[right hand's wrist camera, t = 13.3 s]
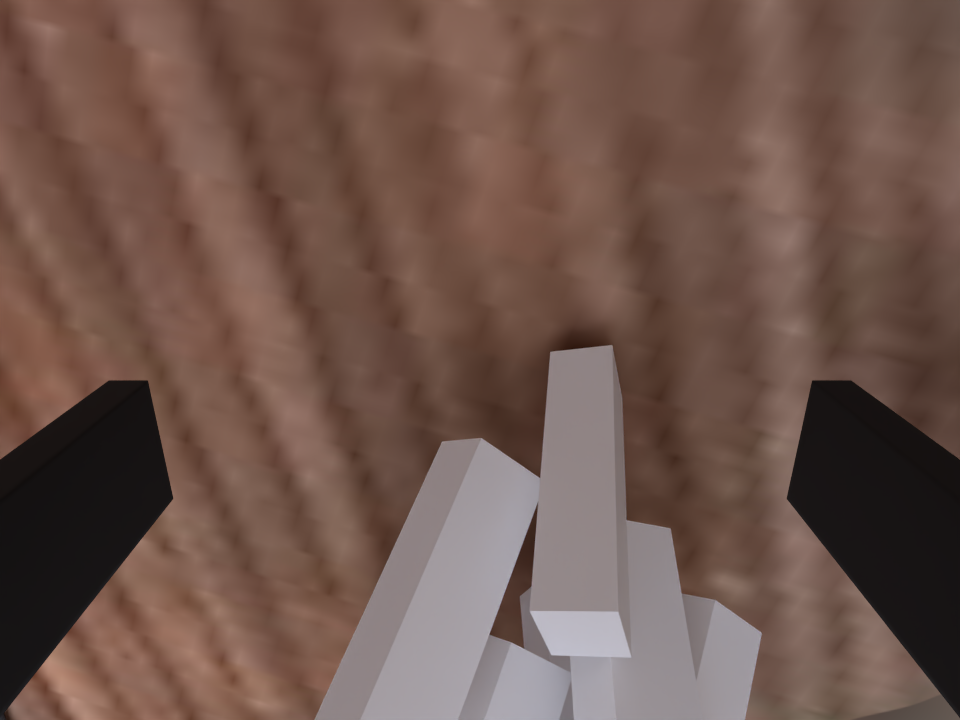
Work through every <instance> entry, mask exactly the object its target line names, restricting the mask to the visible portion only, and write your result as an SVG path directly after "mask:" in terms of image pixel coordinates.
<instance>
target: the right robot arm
mask: <svg viewBox="0 0 960 720" xmlns="http://www.w3.org/2000/svg"><path fill="white" fill-rule="evenodd" d="M172 500H173V495H172V491H171V486H170V481H169V477H168V472H167V467H166V463H165V458H164V454H163V449H162V444H161V440H160V435H159V430H158V426H157V421H156V417H155V412H154V407H153V403H152V398H151V393H150V389H149V384H148V381H108V382H106V383H105V384H104V385H102V386H101V387H99V388H98V389H97V390H95V391H94V392H93V393H91V394H90V395H88V396H87V397H86V398H84V399H83V400H82V401H80V402H79V403H77V404H76V405H75V406H73V407H72V408H71V409H69V410H68V411H66V412H65V413H64V414H62V415H61V416H60V417H58V418H57V419H55V420H54V421H53V422H51V423H50V424H49V425H47V426H46V427H44V428H43V429H42V430H40V431H39V432H38V433H36V434H35V435H33V436H32V437H31V438H29V439H28V440H27V441H25V442H24V443H23V444H21V445H20V446H18V447H17V448H16V449H14V450H13V451H12V452H10V453H9V454H7V455H6V456H5V457H3V458H2V459H1V460H0V720H6V718H5V715H4V712H5V711H6V710H7V708H8V707H9V706H10V705H11V703H12V702H13V701H14V700H15V698H16V697H17V696H18V694H19V693H20V692H21V691H22V689H23V688H24V687H25V686H26V684H27V683H28V682H29V681H30V679H31V678H32V677H33V675H34V674H35V673H36V672H37V670H38V669H39V668H40V667H41V665H42V664H43V663H44V662H45V660H46V659H47V658H48V656H49V655H50V654H51V653H52V651H53V650H54V649H55V648H56V646H57V645H58V644H59V643H60V641H61V640H62V639H63V638H64V636H65V635H66V634H67V632H68V631H69V630H70V629H71V627H72V626H73V625H74V624H75V622H76V621H77V620H78V619H79V617H80V616H81V615H82V613H83V612H84V611H85V610H86V608H87V607H88V606H89V605H90V603H91V602H92V601H93V600H94V598H95V597H96V596H97V594H98V593H99V592H100V591H101V589H102V588H103V587H104V586H105V584H106V583H107V582H108V581H109V579H110V578H111V577H112V576H113V574H114V573H115V572H116V570H117V569H118V568H119V567H120V565H121V564H122V563H123V562H124V560H125V559H126V558H127V557H128V555H129V554H130V553H131V551H132V550H133V549H134V548H135V546H136V545H137V544H138V543H139V541H140V540H141V539H142V538H143V536H144V535H145V534H146V532H147V531H148V530H149V529H150V527H151V526H152V525H153V524H154V522H155V521H156V520H157V519H158V517H159V516H160V515H161V514H162V512H163V511H164V510H165V508H166V507H167V506H168V505H169V503H170V502H171V501H172ZM787 500H788V501H789V502H790V503H791V505H792V506H793V507H794V508H795V510H796V511H797V512H798V514H799V515H800V516H801V517H802V519H803V520H804V521H805V522H806V524H807V525H808V526H809V527H810V529H811V530H812V531H813V532H814V534H815V535H816V536H817V538H818V539H819V540H820V541H821V543H822V544H823V545H824V546H825V548H826V549H827V550H828V551H829V553H830V554H831V555H832V557H833V558H834V559H835V560H836V562H837V563H838V564H839V565H840V567H841V568H842V569H843V570H844V572H845V573H846V574H847V576H848V577H849V578H850V579H851V581H852V582H853V583H854V584H855V586H856V587H857V588H858V589H859V591H860V592H861V593H862V594H863V596H864V597H865V598H866V600H867V601H868V602H869V603H870V605H871V606H872V607H873V608H874V610H875V611H876V612H877V613H878V615H879V616H880V617H881V619H882V620H883V621H884V622H885V624H886V625H887V626H888V627H889V629H890V630H891V631H892V632H893V634H894V635H895V636H896V638H897V639H898V640H899V641H900V643H901V644H902V645H903V646H904V648H905V649H906V650H907V651H908V653H909V654H910V655H911V656H912V658H913V659H914V660H915V662H916V663H917V664H918V665H919V667H920V668H921V669H922V670H923V672H924V673H925V674H926V675H927V677H928V678H929V679H930V681H931V682H932V683H933V684H934V686H935V687H936V688H937V689H938V691H939V692H940V693H941V694H942V696H943V697H944V698H945V699H946V701H947V702H948V703H949V705H950V706H951V707H952V708H953V710H954V711H955V712H956V713H957V715H958V716H959V717H960V460H959V459H958V458H957V457H955V456H954V455H953V454H951V453H950V452H948V451H947V450H946V449H944V448H943V447H942V446H940V445H939V444H937V443H936V442H935V441H933V440H932V439H931V438H929V437H928V436H927V435H925V434H924V433H922V432H921V431H920V430H918V429H917V428H916V427H914V426H913V425H911V424H910V423H909V422H907V421H906V420H905V419H903V418H902V417H900V416H899V415H898V414H896V413H895V412H894V411H892V410H891V409H889V408H888V407H887V406H885V405H884V404H883V403H881V402H880V401H878V400H877V399H876V398H874V397H873V396H872V395H870V394H869V393H867V392H866V391H865V390H863V389H862V388H861V387H859V386H858V385H856V384H855V383H854V382H852V381H812V384H811V389H810V393H809V398H808V403H807V407H806V412H805V417H804V421H803V426H802V430H801V435H800V440H799V444H798V449H797V454H796V458H795V463H794V467H793V472H792V477H791V481H790V486H789V491H788V495H787Z"/></svg>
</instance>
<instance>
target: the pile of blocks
mask: <svg viewBox="0 0 960 720" xmlns="http://www.w3.org/2000/svg"><path fill="white" fill-rule="evenodd" d="M537 503H538V512H537V524H536V537H535V549H534V562H533V574H532V586H531V587H530V588H529V589H528V590H527V591H525V592H524V593H523V594H522V595H521V596H520V606H521V617H522V629H523V641H524V649H523V648H521V647H519V646H517V645H516V644H514V643H512V642H509V641H506V640H503V639H500V638H497V637H494V636H491V635H489V634H490V631H491V628H492V626H493V623H494V620H495V618H496V615H497V612H498V609H499V607H500V604H501V601H502V598H503V596H504V593H505V590H506V588H507V585H508V582H509V579H510V577H511V574H512V571H513V568H514V566H515V563H516V560H517V558H518V555H519V552H520V549H521V547H522V544H523V541H524V538H525V536H526V533H527V530H528V528H529V525H530V522H531V519H532V517H533V514H534V511H535V509H536V506H537ZM761 635H762V633H761V632H760V631H758V630H757V629H756V628H754V627H753V626H751V625H750V624H748V623H747V622H746V621H744V620H743V619H741V618H740V617H739V616H737V615H736V614H734V613H733V612H732V611H730V610H729V609H727V608H726V607H724V606H723V605H722V604H720V603H719V602H717V601H716V600H713V599H707V598H702V597H697V596H692V595H687V594H682V593H681V587H680V581H679V575H678V569H677V563H676V557H675V552H674V546H673V540H672V534H671V528H666V527H661V526H655V525H650V524H645V523H639V522H634V521H629V520H627V515H626V487H625V459H624V431H623V403H622V394H621V388H620V383H619V378H618V372H617V367H616V362H615V356H614V351H613V346H612V345H608V346H599V347H590V348H581V349H572V350H563V351H554V352H550V362H549V375H548V387H547V400H546V412H545V425H544V437H543V450H542V462H541V475H540V478H539V477H538V476H536V475H535V474H533V473H532V472H530V471H529V470H527V469H526V468H524V467H523V466H522V465H520V464H519V463H517V462H516V461H514V460H513V459H511V458H510V457H508V456H507V455H505V454H504V453H503V452H501V451H500V450H498V449H497V448H495V447H494V446H492V445H491V444H489V443H488V442H487V441H485V440H484V439H482V438H476V439H465V440H453V441H442V443H441V445H440V447H439V449H438V452H437V454H436V456H435V458H434V460H433V463H432V465H431V467H430V469H429V471H428V473H427V476H426V478H425V480H424V482H423V484H422V486H421V489H420V491H419V493H418V495H417V497H416V500H415V502H414V504H413V506H412V508H411V510H410V513H409V515H408V517H407V519H406V521H405V524H404V526H403V528H402V530H401V532H400V534H399V537H398V539H397V541H396V543H395V545H394V548H393V550H392V552H391V554H390V556H389V558H388V561H387V563H386V565H385V567H384V569H383V571H382V574H381V576H380V578H379V580H378V582H377V585H376V587H375V589H374V591H373V593H372V595H371V598H370V600H369V602H368V604H367V606H366V609H365V611H364V613H363V615H362V617H361V619H360V622H359V624H358V626H357V628H356V630H355V633H354V635H353V637H352V639H351V641H350V643H349V646H348V648H347V650H346V652H345V654H344V657H343V659H342V661H341V663H340V665H339V667H338V670H337V672H336V674H335V676H334V678H333V680H332V683H331V685H330V687H329V689H328V691H327V694H326V696H325V698H324V700H323V702H322V704H321V707H320V709H319V711H318V713H317V715H316V718H315V720H745V716H746V711H747V706H748V701H749V696H750V690H751V685H752V680H753V675H754V670H755V665H756V660H757V655H758V650H759V645H760V640H761Z"/></svg>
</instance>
